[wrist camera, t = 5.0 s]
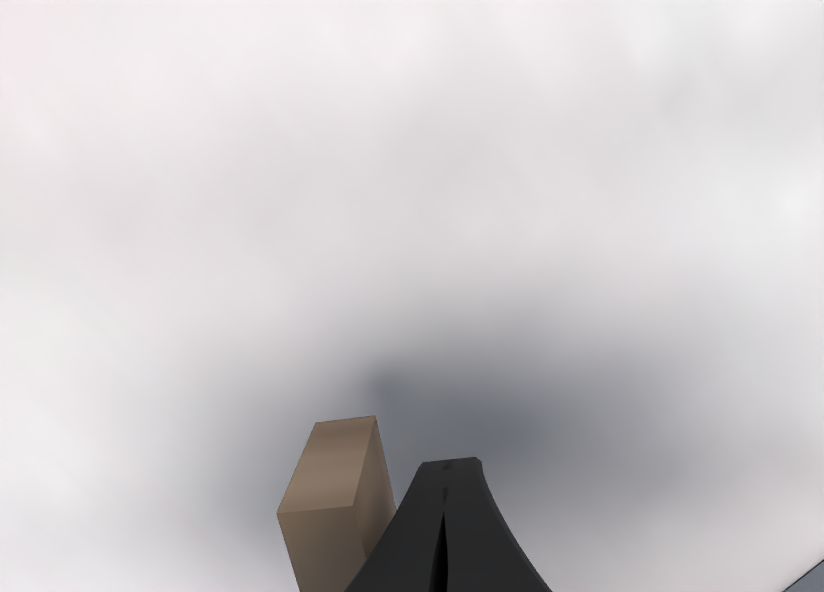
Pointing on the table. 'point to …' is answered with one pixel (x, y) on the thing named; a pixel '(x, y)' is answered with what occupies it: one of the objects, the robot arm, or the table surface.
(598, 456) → the table surface
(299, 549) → the flipper lever
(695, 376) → the table surface
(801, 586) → the tray
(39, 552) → the table surface
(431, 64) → the table surface
